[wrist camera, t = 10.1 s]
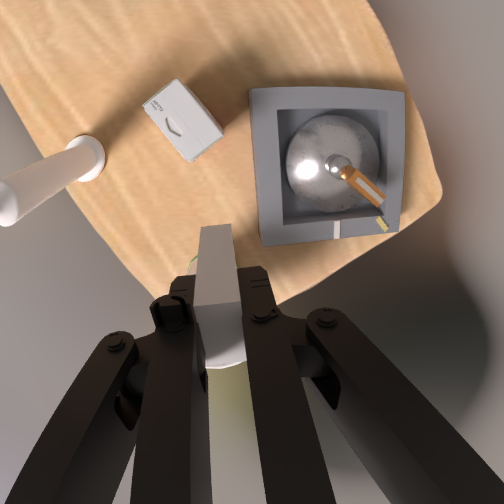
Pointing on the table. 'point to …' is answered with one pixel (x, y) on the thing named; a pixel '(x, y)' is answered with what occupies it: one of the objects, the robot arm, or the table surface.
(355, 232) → the housing
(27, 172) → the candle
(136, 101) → the table surface
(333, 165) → the dial
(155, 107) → the ink box
